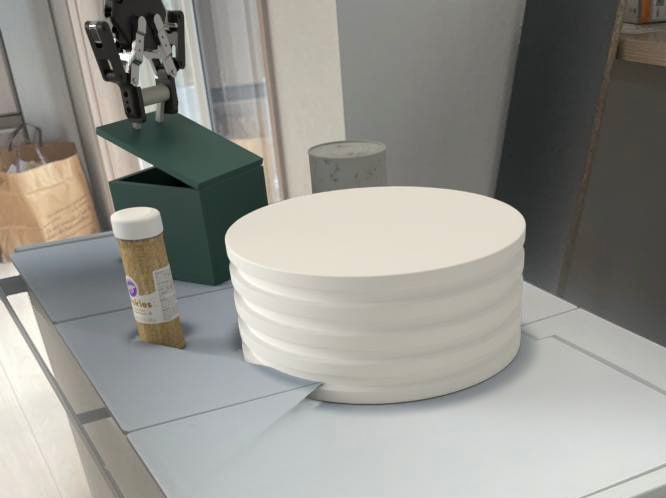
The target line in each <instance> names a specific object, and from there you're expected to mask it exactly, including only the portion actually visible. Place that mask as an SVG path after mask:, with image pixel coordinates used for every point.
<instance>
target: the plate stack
mask: <svg viewBox="0 0 666 498" xmlns="http://www.w3.org/2000/svg"><path fill="white" fill-rule="evenodd" d="M526 230H527V224H526V219H525V217H524V215H523V214H522V213H521V212H520V211H519V210H518V209H516V208H515V207H513V206H512V205H511V204H508V203H506V202H505V201H502V200H498V199H496V198H493V197H490V196H487V195H483V194H480V193H479V194H478V193H474V192H469V191H464V190H457V189H450V188H442V187H441V188H440V187H429V186H404V185H402V186H398V185H397V186H393V185H392V186H387V187H366V188H353V189H343V190H335V191H328V192H321V193H315V194H312V193H310V194H306V195H301V196H295V197H291V198H287V199H285V200H284V199H283V200H281V201H277V202H274V203H271V204H268V206H265V207H262V208H260V209H257V210H255V211H253V212H251V213H249V214H247V215H245V216H243V217H242V218H240V219H239V220H237V221H236V222H235V223H234V224H233V225H232V226H231V227H230V228H229V229H228V231H227V233H226V235H225V244H226V250H227V255H228V258H229V260H230V266H229V268H230V275H231V278H230V279H231V284H232V287H233V298H234V305H235V309H236V313H237V323H238V330H239V334H240V338H241V347H242V355H243V359H244V362H245V363H248V364H253V365H258V366H263V367H267V368H268V367H269V368H273V369H275V370H277V371H278V372H282V373H284V374H286V375H289V376H292V377H296V378H299V379H303V380H307V381H312V382H318V383H321V384H319V386H317V387H316V388H314V389H313V390H312V391H311V392H309V394H307V395H306V396H305V397H304V398H306V399H311V400H316V401H321V402H328V403H329V402H331V403H337V404H338V403H339V404H351V405H352V404H354V405H355V404H356V405H378V404H381V405H382V404H398V403H405V402H406V403H407V402H415V401H420V400H428V399H432V398H436V397H437V398H438V397H441V396H445V395H448V394H452V393H457V392H459V391H463V390H465V389H468V388H470V387H473V386H476V385H478V384H480V383H482V382H484V381H487V380H488V379H491V378H492V377H494V376H495V375H497V374H498V373H500V372H501V371H503V370H504V369H505V368H506V367H507V366H509V364H511V362H512V361H513V360H514V359H515V357H516V356H517V354H518V352H519V350H520V347H521V337H522V336H521V335H522V328H521V324H522V323H521V322H522V315H523V302H522V298H523V293H524V275H523V272H524V268H525V248H524V245H525V241H526Z"/></svg>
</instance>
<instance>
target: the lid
mask: <svg viewBox="0 0 666 498" xmlns="http://www.w3.org/2000/svg"><path fill="white" fill-rule="evenodd" d="M141 91H142V96H143V102H144V107H145V108H146V107H149V106H153V105H156V107H155V110H153V111H150V112H145V113H146V118H147V120H146V122H144V123H131V122H130V121H129V120H128V118H124V119H121V120H118V121H114V122H110V123H107V124H106V123H105V124H103V125H99V126H95V135H97V136H99V137H100V138H102V139H104V140H106V141H108V142H110V143H111V144H113V145H115V146H116V147H119V148H120V149H123V150H124V151H126V152H127V153H129V154H131V155H133V156H135V157H137V158H139V159H140V160H143V161H144V162H146V163H148V164H149V165H151V166H155V167H157V168H159V169H160V170H162V171H164V172H166V173H168V174H169V175H171V176H173V177H175V178H177V179H179V180H180V181H182V182H184V183H186V184H188V185H189V186H191V187H193V188H195V189H197V190H200V189H202V188H205V187H207V186H210V185H212V184H215V183H217V182H220V181H222V180H225V179H227V178H230V177H232V176H235V175H237V174H240V173H242V172H245V171H247V170H250V169H252V168H255V167H257V166H260V165H262V166H263V163H264V157H262V156H260V155H259V154H256V153H254V152H253V151H250V150H248V149H247V148H245V147H243V146H241V145H240V144H237V143H236V142H234V141H232V140H230V139H228V138H227V137H224V136H223V135H221V134H219V133H217V132H215V131H213V130H211V129H210V128H207V127H206V126H204V125H202V124H200V123H198V122H196V121H194V120H193V119H190V118H189V117H187V116H185V115H183V114H181V113H180V112H178V113H176V114H164V106H165V101H167V100H168V99H169V98H170V91H169V89H168V87H167V86H166V85H164V84H159V85H156V84H154V85H151V86H147V87H141Z"/></svg>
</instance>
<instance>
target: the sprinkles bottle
mask: <svg viewBox="0 0 666 498" xmlns="http://www.w3.org/2000/svg"><path fill="white" fill-rule="evenodd" d="M110 223H111V228H112V233H113V236H114V237H115V239H116V242H117V243H118V248H119V252H120V256H121V261H122V265H123V269H124V273H125V281H126V285H127V290H128V294H129V299H130V302H131V307H132V312H133V316H134V319H135V321H136V325H137V326H136V327H137V330H138V336H139V339H140V342H143V343H148V344H152V345H157V346H163V347H169V348H173V349H178V350H181V349H183V348H184V347H185V345H186V339H185V337H184V333H183V329H182V323H181V318H180V310H179V309H180V308H179V303H178V300H177V294H176V290H175V286H174V285H175V284H174V279H172V275H171V270H170V265H169V262H168V258H167V254H166V248H165V244H164V240H163V233H162V232H163V224H162V220H161V216H160V212H159V211H158V210H157V209H154V208H150V207H134V208H127V209H123V210H120V211H117V212H115V211H114V213H112V214H111V215H110Z"/></svg>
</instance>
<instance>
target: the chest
mask: <svg viewBox="0 0 666 498" xmlns="http://www.w3.org/2000/svg"><path fill="white" fill-rule="evenodd" d="M265 175H266V174H265V168H264V165H263V164H262V165H260V166H257V167H255V168H252V169H250V170H247V171H245V172H242V173H240V174H237V175H235V176H232V177H230V178H227V179H225V180H222V181H220V182H217V183H215V184H212V185H210V186H207V187H205V188H202V189H200V190H197V189H195V188H193V187H191V186H189V185H188V184H186V183H184V182H182V181H180V180H179V179H177V178H175V177H173V176H171V175H169V174H168V173H166V172H164V171H162V170H160V169H159V168H157V167H155V166H153V165H151V166H149V167H146V168H144V169H141V170H138V171H135V172H132V173H129V174H126V175H122V176H120V177H117V178H115V179H112V180H109V181H107V183H108V188H109V192H110V196H111V201H112V205H113V210H114V213H115V212H117V211H120V210H123V209H127V208H134V207H150V208H154V209H157V210H158V211H159V212H160V216H161V220H162V224H163V232H162V233H163V240H164V244H165V248H166V254H167V258H168V262H169V265H170V270H171V275H172V279H173V280H177V281H183V282H189V283H195V284H202V285H207V286H215V287H216V286H218V285H220V284H222V283H224V282H225V281H227V280H229V279H231V275H230V268H229V266H230V260H229V258H228V255H227V250H226V244H225V235H226V233H227V231H228V229H229V228H230V227H231V226H232V225H233V224H234V223H235V222H236V221H237V220H239V219H240V218H242V217H243V216H245V215H247V214H249V213H251V212H253V211H255V210H257V209H260V208H262V207H265V206H268V205H269V200H268V199H269V198H268V191H267V185H266V176H265Z"/></svg>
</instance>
